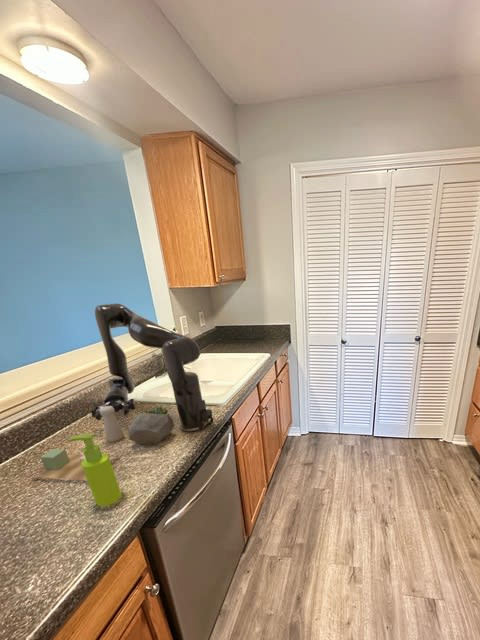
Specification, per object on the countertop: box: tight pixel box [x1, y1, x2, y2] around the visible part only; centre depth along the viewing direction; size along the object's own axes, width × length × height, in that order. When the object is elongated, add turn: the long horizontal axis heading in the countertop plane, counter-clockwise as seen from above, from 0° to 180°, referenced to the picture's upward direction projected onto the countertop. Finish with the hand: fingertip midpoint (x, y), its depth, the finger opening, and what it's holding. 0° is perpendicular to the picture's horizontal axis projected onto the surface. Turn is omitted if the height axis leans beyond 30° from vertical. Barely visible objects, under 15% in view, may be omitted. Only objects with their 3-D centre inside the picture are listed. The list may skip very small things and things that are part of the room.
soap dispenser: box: [67, 433, 122, 508], centre depth 81 cm, size 6×7×20 cm
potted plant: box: [128, 405, 175, 446], centre depth 113 cm, size 12×13×15 cm
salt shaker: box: [100, 406, 125, 443], centre depth 112 cm, size 6×6×13 cm
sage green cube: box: [40, 448, 70, 470], centre depth 99 cm, size 4×4×4 cm
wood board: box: [34, 454, 116, 481], centre depth 99 cm, size 18×12×1 cm, turn 82°
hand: (111, 415), depth 116 cm, fingers open, 8 cm apart
